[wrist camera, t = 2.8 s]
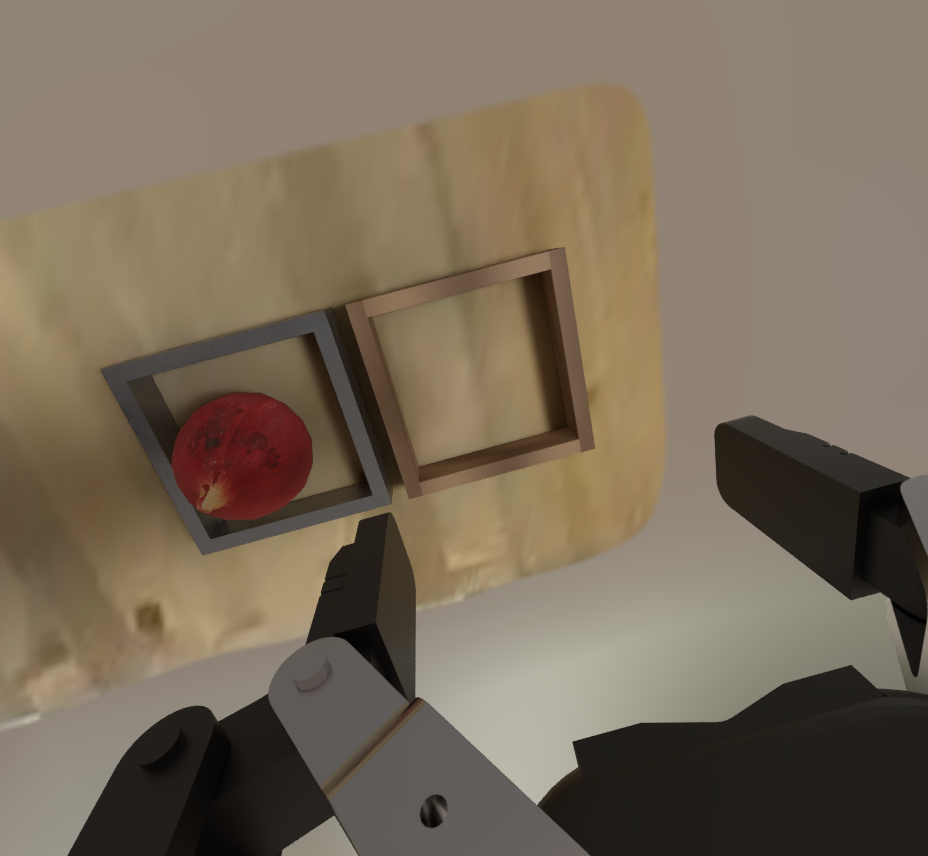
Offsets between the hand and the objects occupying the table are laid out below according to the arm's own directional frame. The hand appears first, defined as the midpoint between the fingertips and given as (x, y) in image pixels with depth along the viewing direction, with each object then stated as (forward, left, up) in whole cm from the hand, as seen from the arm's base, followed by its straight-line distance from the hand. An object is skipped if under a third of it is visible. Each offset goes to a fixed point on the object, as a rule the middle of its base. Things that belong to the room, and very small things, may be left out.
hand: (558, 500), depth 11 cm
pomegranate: (-11, -5, -15) cm, 19 cm away
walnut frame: (0, 0, -15) cm, 15 cm away
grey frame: (-11, -5, -15) cm, 19 cm away
